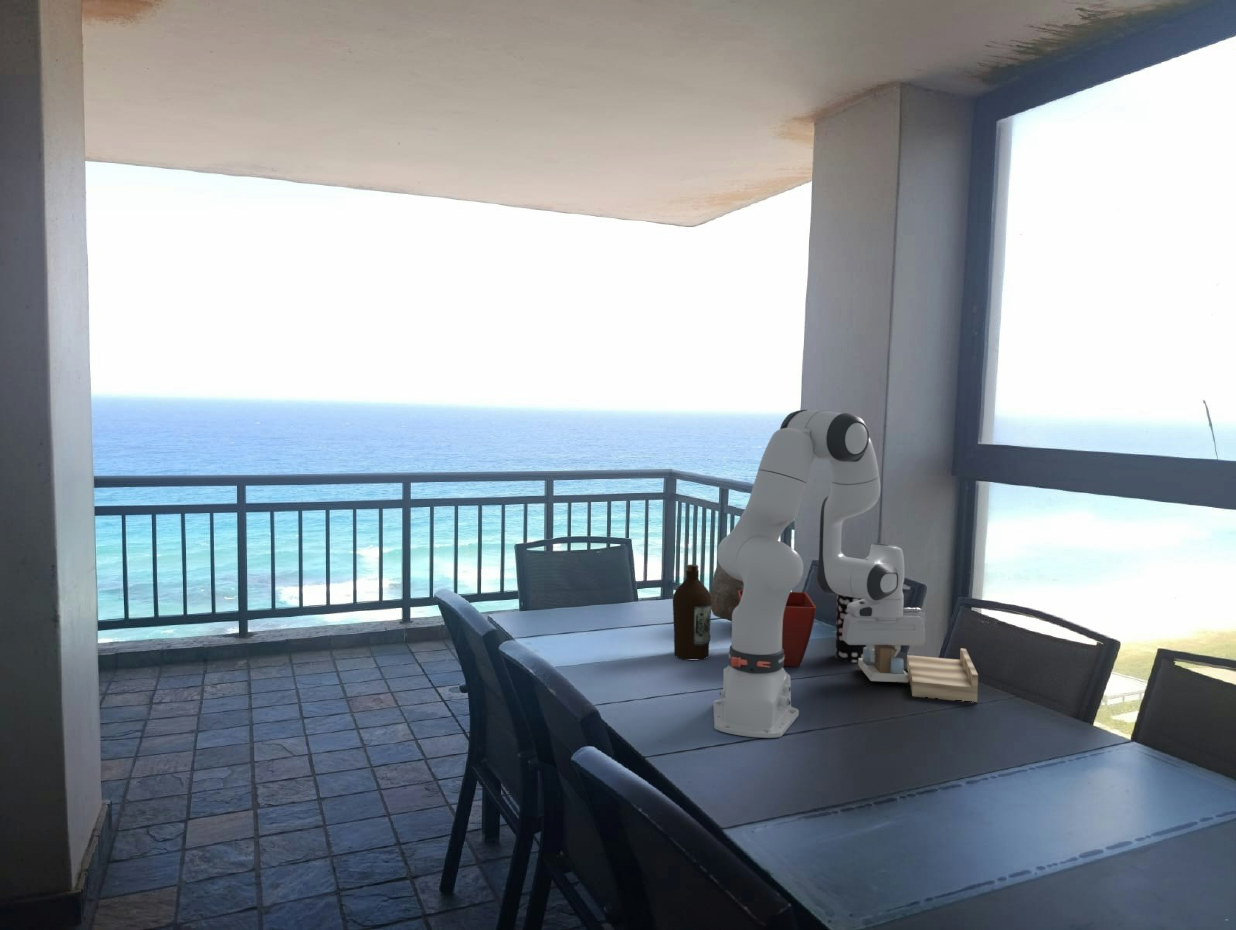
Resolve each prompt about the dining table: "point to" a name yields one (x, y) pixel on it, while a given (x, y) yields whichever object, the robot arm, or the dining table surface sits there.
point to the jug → (724, 594)
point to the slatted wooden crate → (943, 677)
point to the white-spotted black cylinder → (842, 648)
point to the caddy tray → (884, 677)
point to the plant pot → (795, 626)
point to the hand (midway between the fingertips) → (882, 661)
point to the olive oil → (692, 617)
